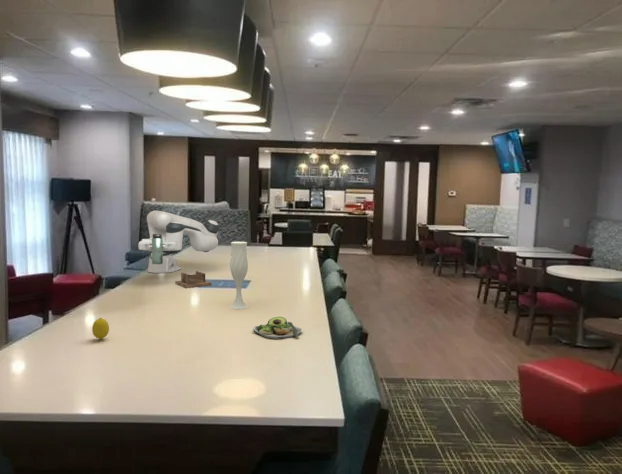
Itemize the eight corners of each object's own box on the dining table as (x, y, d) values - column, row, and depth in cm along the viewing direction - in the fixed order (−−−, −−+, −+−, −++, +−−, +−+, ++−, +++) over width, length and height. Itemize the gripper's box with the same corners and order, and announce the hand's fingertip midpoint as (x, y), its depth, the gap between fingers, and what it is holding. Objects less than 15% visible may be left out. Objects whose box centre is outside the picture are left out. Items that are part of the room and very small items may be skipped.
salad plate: (314, 336, 191) (314, 324, 191) (274, 344, 181) (274, 331, 180) (285, 324, 207) (286, 313, 206) (247, 331, 196) (247, 319, 195)
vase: (250, 305, 237) (250, 241, 234) (246, 309, 229) (246, 243, 226) (231, 304, 238) (231, 241, 235) (227, 308, 230) (227, 243, 227)
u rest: (175, 283, 286) (175, 272, 285) (199, 281, 295) (199, 270, 294) (186, 288, 274) (185, 276, 273) (211, 285, 283) (211, 273, 282)
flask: (155, 262, 278) (155, 233, 276) (164, 263, 276) (164, 234, 275) (150, 263, 273) (149, 234, 271) (159, 264, 271) (158, 234, 270)
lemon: (111, 340, 181) (111, 318, 180) (96, 343, 177) (95, 320, 176) (105, 336, 185) (105, 315, 184) (90, 339, 181) (89, 317, 180)
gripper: (176, 249, 289) (177, 252, 276) (139, 250, 284) (137, 253, 270) (176, 238, 289) (177, 241, 275) (139, 239, 283) (137, 241, 270)
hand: (157, 247), depth 273 cm, fingers closed on flask, 6 cm apart
